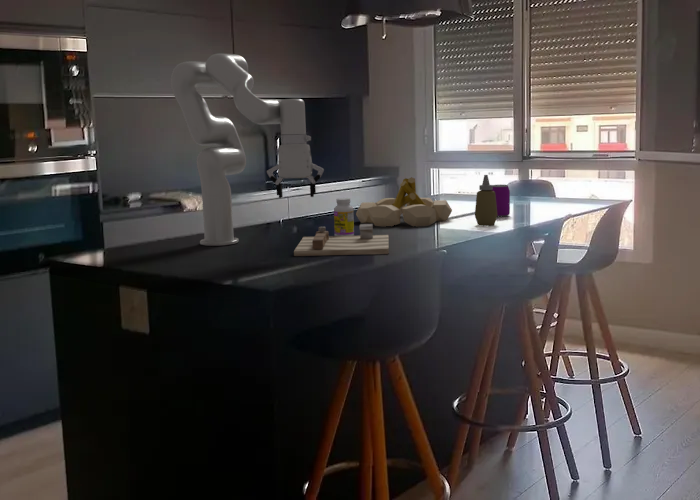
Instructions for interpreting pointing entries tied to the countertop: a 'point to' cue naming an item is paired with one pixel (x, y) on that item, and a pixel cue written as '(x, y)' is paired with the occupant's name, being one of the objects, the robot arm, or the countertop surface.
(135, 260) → the countertop surface
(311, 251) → the hinge board
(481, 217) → the squeeze bottle
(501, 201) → the beverage can
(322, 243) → the link
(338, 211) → the supplement bottle
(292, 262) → the countertop surface
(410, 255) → the countertop surface
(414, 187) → the campfire
